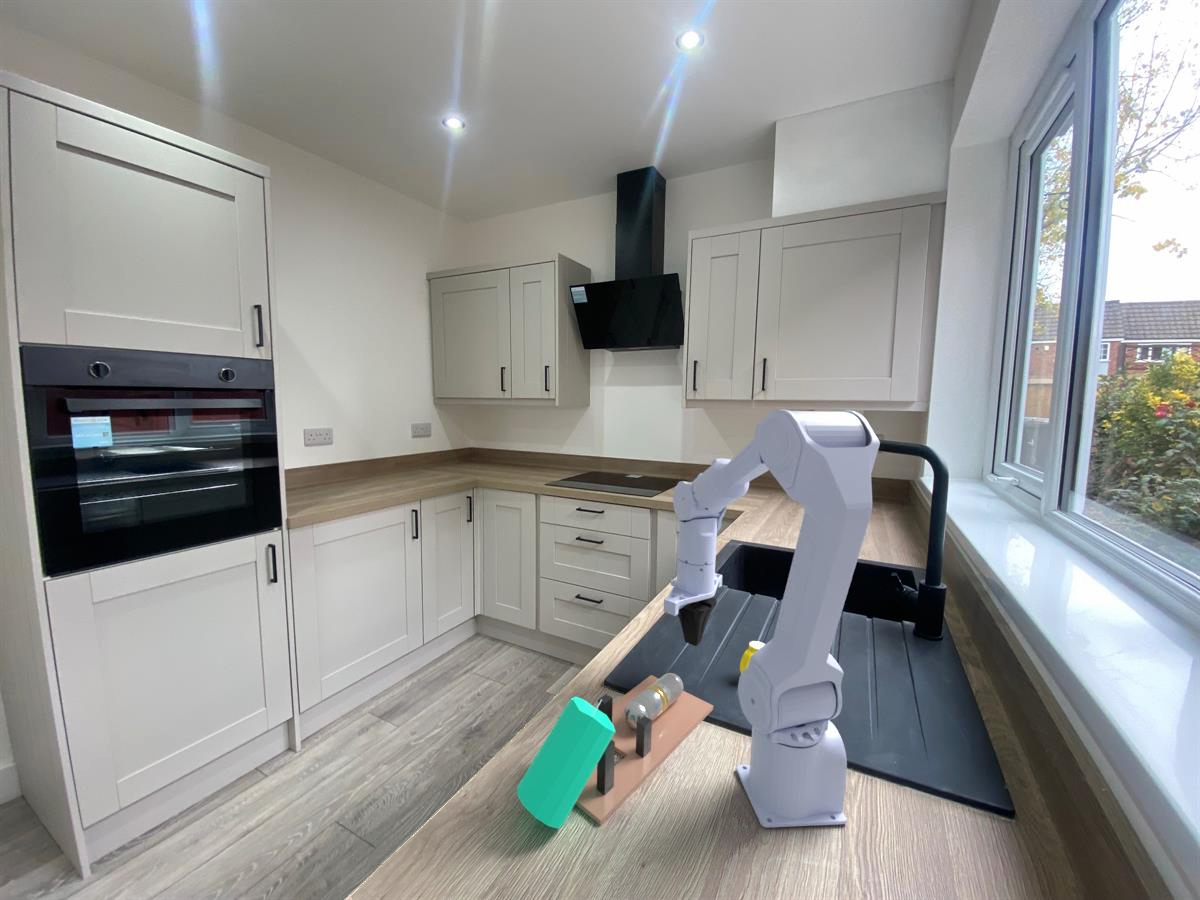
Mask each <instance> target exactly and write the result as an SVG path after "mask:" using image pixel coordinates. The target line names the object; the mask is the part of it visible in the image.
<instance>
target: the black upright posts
mask: <svg viewBox="0 0 1200 900" xmlns="http://www.w3.org/2000/svg"><path fill="white" fill-rule="evenodd" d="M601 699H602V701H601V703H600V705H599V707H598V708H597V709H598V710H599V711H601V712H602V713H604V714H606V715H607V716H608V718H609V719H610V721H611V722H612V708H613V703H614V701H613V700H614V697H612V696H610V695H609V694H607V693H605V694H604V695H602V696H601V697H599V698H598V700H597V705H598V704H599V702H600V700H601ZM559 717H560V716H559ZM559 717H558V718H557V720H558V719H559ZM651 735H652V720H651V719H649V718H647V717H646V716H643V717H642V718H641V719H640V720H639V721H637V729H636V754H638V755H639V756H641V757H643V758H644V757H645V756H646V755H647V754H648V753H649V752H650V751H651ZM615 752H616V751H615V742H614V741H613V740H611V741H610V743H609V744H608V746H607V748H606V750H605V751H604V753H603V755H602V757H601V759H600V760H599V762H598V764H597V790H598V791H599V792H600V793H602V794H603V795H604V796H605V795H606V794H607V793H608V792H609V791H610V790H611V789H612V788H613V787H614V767H615V759H616V758H615V757H616V756H615V755H616V753H615Z"/></svg>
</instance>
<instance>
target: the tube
mask: <svg viewBox="0 0 1200 900" xmlns="http://www.w3.org/2000/svg"><path fill="white" fill-rule="evenodd" d="M683 691H684V683H683V680H682V679H681V677H680V676H679V675H677V674H676V673H672V672H668V673H665V674H663V675H662V676H661V677H659V678H658V680H657V681H656V682H655V683H653V684H652V685H650V686H649V687H648V688H646V689H645V690H644V691H643V692H642V693H641V694H639V695H638V696H637V697H635V698H634V699H633V700H632V701H630V702H629V703H628V704H627V706H626V707H625V711H624V718H625V721H626V723H627V725H628V726H629V727H630V728H632V729H634V730H636V729H637V721H639V720H640V719H641V718H642V717H643V716H646V717H647V718H649V719H651V720H652V721H653V720H654V719H656V718H657V717H658V716H659V715H660V714H662V713H663V712H664V711H665V710H666V709H667V708H668V707H669V706H670V705H671V704H672V703H673V702H675V701H676V700H677V699H678V698H679V697H680V696H681V695H682V692H683Z"/></svg>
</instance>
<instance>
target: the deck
mask: <svg viewBox="0 0 1200 900" xmlns="http://www.w3.org/2000/svg"><path fill="white" fill-rule="evenodd" d="M658 679H659V677H656V676H654V675H652V674H651V675H649V676H648V677H646V678H645V679H644V680H642V681H641V682H640V683H639V684H637V685H636V686H635V687H633V688H632V689H631V690H629V691H628V692H627V693H626V694H624V695H623V696H622V697H620V698H619V699H617V700H616V701H615V702H613V708H612V724H613V726H614V729H615V734H614V735H613V737H612V739H611V740H613V741H614V742H615V752H616V753H618V754H619V755H620V756H622V757H623V758H622V759H621V760H620V761H619V762H618V763H617V764H615V765H614V787H613V788H612V789H611V790H610V791H609V792H608V793H607V794H606V795H605V796H604V795H603V794H602V793H600V792H599V791H598V790H597V766H596V767H595V769H594V771H593V773H592V775H591V776H590V778H589V780H588V782H587V783H586V785H585V787H584V789H583V791H582V792H581V794H580V796H579V798H578V799H577V801H576V803H575V805H574V806H577V808H579V809H580V810H581V811H582V812H583V813H585V814H586V815H587V816H588V817H589V818H591V819H592V820H593V821H595V822H596V823H597V824H598V825H599V826H602V825H603V824H604V823H605V822H606V821H607V820H608V819H609V818H610V817H611V816H612V815H613V814H614V813H615V812H616V811H617V810H618V808H620V806H621V805H622V804H624V802H625V801H626V800H627V799H628V798H629V797H630V796H631V795H632V794H633V793H634V792H635V791H636V790H637V789H638V788H639V786H641V785H642V784H643V783H644V782H645V780H646V779H648V778H649V777H650V775H652V773H653V772H654V771H655V770H656V769H657V768H659V766H660V765H662V763H663V762H664V761H665V760H666V759H667V758H668V757H669V756H670V754H672V752H674V750H676V748H678V747H679V746H680V744H681V743H683V741H684V740H685V739H686V738H687V737H688V736H689V735H690V734H691V733H692V732H693V731H694V730H695V729H696V728H697V726H699V725H700V724H701V722H703V721H704V720H705V719H706V717H707V716H708V715H709V714H710V713H711V712H713V710H714V705H713V704H711V703H710V702H707V701H705V700H703V699H701V698H699V697H697V696H695V695H693V694H691V693H689V692H686V691H685V690H683V692H682V695H681V696H680V697H679V698H678V699H677V700H676V701H675V702H673V703H672V704H671V705H670V706H669V707H668V708H667V709H666V710H665V711H664V712H663V713H662V714H660V715H659V716H658V717H657V718H656V719H654V720H653V721H652V735H651V751H650V752H649V753H648V754H647V755H646V756H645V757H644V758H643V757H641V756H639V755H638V754H636V730H634V729H632V728H630V727H629V726H628V725H627V723H626V721H625V718H624V711H625V707H626V706H627V704H628V703H629V702H630V701H632V700H633V699H634V698H635V697H637V696H638V695H639V694H641V693H642V692H643V691H644V690H645V689H646V688H648V687H649V686H650V685H652V684H653V683H655V682H656V681H657V680H658Z"/></svg>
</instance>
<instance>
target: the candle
mask: <svg viewBox="0 0 1200 900" xmlns="http://www.w3.org/2000/svg"><path fill="white" fill-rule="evenodd" d="M601 701H602V699H601V700H600V702H599V704H598V703H597V706H596V707H595V706H594V705H592V704H591V703H589V702H588V701H587V700H585V699H583V698H580V697H578V696H574V697H572V698H570V699H569V701H568V702H567V704H566V705H565V707H564V708H563V710H562V712H561V714H560V715H559V719H558V718H557V721H555V724H554V726H553V728H552V729H550V732H549V734H548V735H547V737H546V738H545V740H544V742H543V744H542V745H541V747H540V749H539V750H538V752H537V754H536V755H535V757H534V758H533V760H532V761H531V763H530V765H529V766H528V768H527V771H526V772H525V774H524V775H523V777H522V778H521V780H520V782H519V784H518V785H517V787H516V795H517V797H518V798H519V800H520V802H521V804H522V805H523V807H524V808H525V809H526V810H527V811H528V812H530V814H531V815H532V816H533V817H534V818H535V819H537V820H538V821H540V822H541V823H543V824H544V825H546V826H548V827H551V828H554V829H556V830H557V829H560V828H561V827H563V826H564V824H565V822H567V819H568V817H569V816H570V813H571V812H572V811H573V809H574V806H576V805H575V803H576V801H577V799H578V798H579V796H580V794H581V792H582V791H583V789H584V787H585V785H586V783H587V782H588V780H589V778H590V776H591V775H592V773H593V771H594V769H595V767H596V766H597V764H598V762H599V760H600V759H601V757H602V755H603V753H604V751H605V750H606V748H607V746H608V744H609V743H610V741H611V739H612V737H613V735H614V734H615V729H614V726H613V724H612V722H611V721H610V719H609V718H608V716H607V715H606V714H604V713H602V712H601V711H599V710H598V707H599V705H600V703H601Z"/></svg>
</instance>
